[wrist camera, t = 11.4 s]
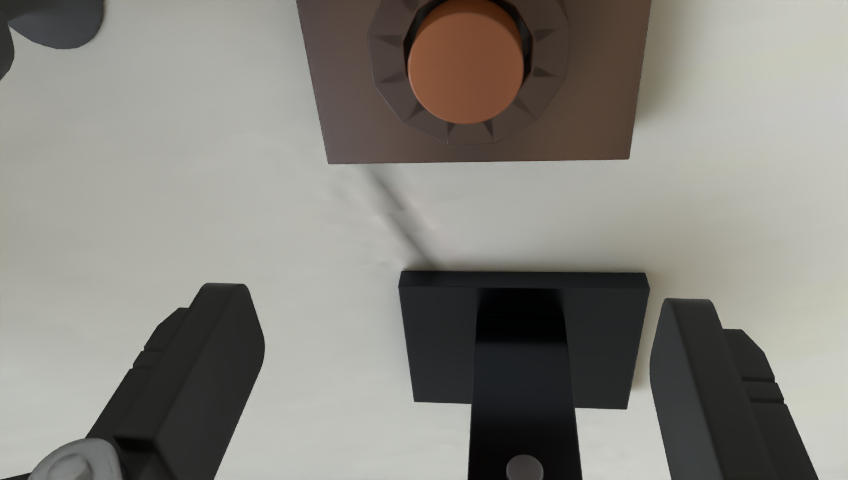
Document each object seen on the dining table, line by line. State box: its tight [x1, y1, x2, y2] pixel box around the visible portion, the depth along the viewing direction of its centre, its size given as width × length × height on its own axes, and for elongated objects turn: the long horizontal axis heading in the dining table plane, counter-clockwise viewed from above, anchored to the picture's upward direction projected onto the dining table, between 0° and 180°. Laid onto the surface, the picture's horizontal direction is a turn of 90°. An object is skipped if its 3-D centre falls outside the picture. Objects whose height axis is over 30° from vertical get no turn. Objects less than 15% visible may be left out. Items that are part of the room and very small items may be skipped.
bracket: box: [398, 271, 650, 480], centre depth 28 cm, size 12×9×12 cm
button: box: [408, 0, 524, 124], centre depth 20 cm, size 4×4×2 cm
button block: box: [296, 0, 651, 164], centre depth 21 cm, size 12×10×4 cm
